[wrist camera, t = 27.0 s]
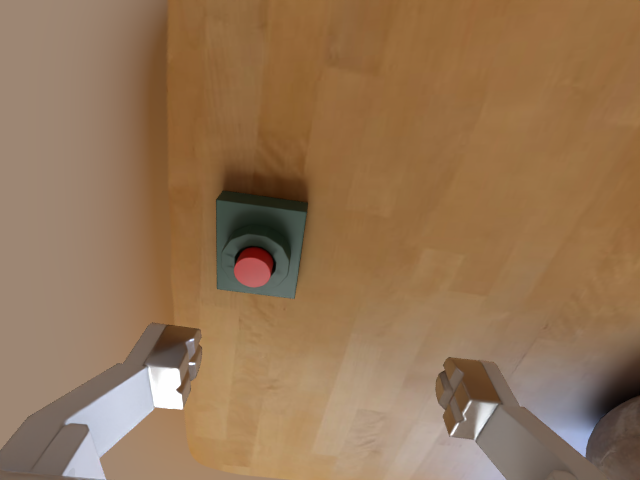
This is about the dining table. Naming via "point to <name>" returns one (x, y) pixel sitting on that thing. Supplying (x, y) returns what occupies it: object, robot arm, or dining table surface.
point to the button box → (260, 239)
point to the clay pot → (617, 442)
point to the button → (253, 267)
